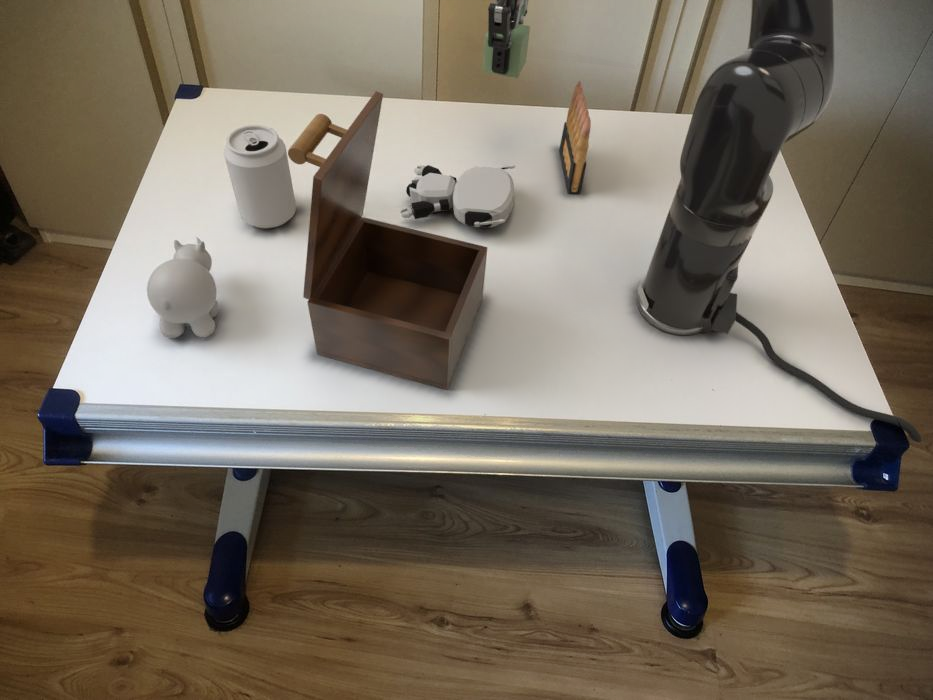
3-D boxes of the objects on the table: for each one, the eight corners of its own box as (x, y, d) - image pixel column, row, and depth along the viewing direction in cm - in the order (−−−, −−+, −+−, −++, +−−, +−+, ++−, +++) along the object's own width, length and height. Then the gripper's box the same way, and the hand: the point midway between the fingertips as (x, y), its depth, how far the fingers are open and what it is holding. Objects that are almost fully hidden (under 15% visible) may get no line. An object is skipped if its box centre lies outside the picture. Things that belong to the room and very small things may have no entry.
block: (526, 61, 97) (530, 25, 93) (517, 78, 94) (521, 42, 90) (491, 54, 97) (494, 19, 94) (482, 71, 94) (484, 35, 90)
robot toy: (398, 234, 93) (508, 244, 91) (395, 208, 90) (509, 217, 88) (416, 179, 101) (518, 187, 99) (414, 153, 97) (519, 161, 96)
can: (255, 239, 90) (236, 162, 81) (231, 208, 94) (210, 131, 84) (306, 219, 93) (294, 143, 84) (281, 190, 97) (266, 113, 87)
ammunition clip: (580, 194, 100) (596, 120, 90) (567, 194, 99) (582, 120, 90) (570, 150, 106) (585, 77, 97) (558, 150, 106) (572, 77, 97)
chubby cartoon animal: (240, 271, 86) (225, 219, 80) (216, 345, 79) (198, 293, 72) (182, 269, 86) (162, 216, 79) (153, 342, 78) (128, 290, 72)
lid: (383, 93, 67) (335, 74, 67) (321, 180, 58) (266, 157, 58) (363, 214, 80) (322, 198, 80) (310, 300, 71) (264, 282, 71)
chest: (482, 299, 85) (487, 246, 78) (446, 390, 76) (449, 339, 69) (364, 270, 87) (360, 216, 81) (316, 354, 78) (307, 302, 72)
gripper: (534, -47, 77) (518, 93, 90) (560, -89, 86) (542, 44, 99) (470, -58, 78) (464, 82, 91) (502, -98, 87) (492, 34, 100)
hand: (505, 62), depth 95 cm, fingers closed on block, 5 cm apart
